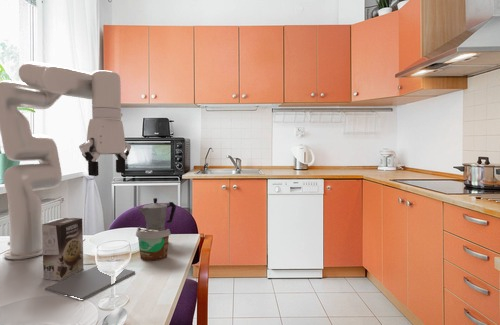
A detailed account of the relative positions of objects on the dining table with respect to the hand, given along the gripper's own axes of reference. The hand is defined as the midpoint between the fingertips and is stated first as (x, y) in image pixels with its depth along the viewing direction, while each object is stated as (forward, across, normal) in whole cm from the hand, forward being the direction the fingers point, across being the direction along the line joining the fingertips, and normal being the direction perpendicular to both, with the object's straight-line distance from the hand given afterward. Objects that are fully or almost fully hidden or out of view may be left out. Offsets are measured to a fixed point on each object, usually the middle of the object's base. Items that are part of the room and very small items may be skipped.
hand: (107, 174), depth 91 cm
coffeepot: (+31, -29, -6) cm, 43 cm away
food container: (+30, -15, +2) cm, 34 cm away
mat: (+30, +5, -1) cm, 31 cm away
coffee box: (+31, +5, -13) cm, 34 cm away
